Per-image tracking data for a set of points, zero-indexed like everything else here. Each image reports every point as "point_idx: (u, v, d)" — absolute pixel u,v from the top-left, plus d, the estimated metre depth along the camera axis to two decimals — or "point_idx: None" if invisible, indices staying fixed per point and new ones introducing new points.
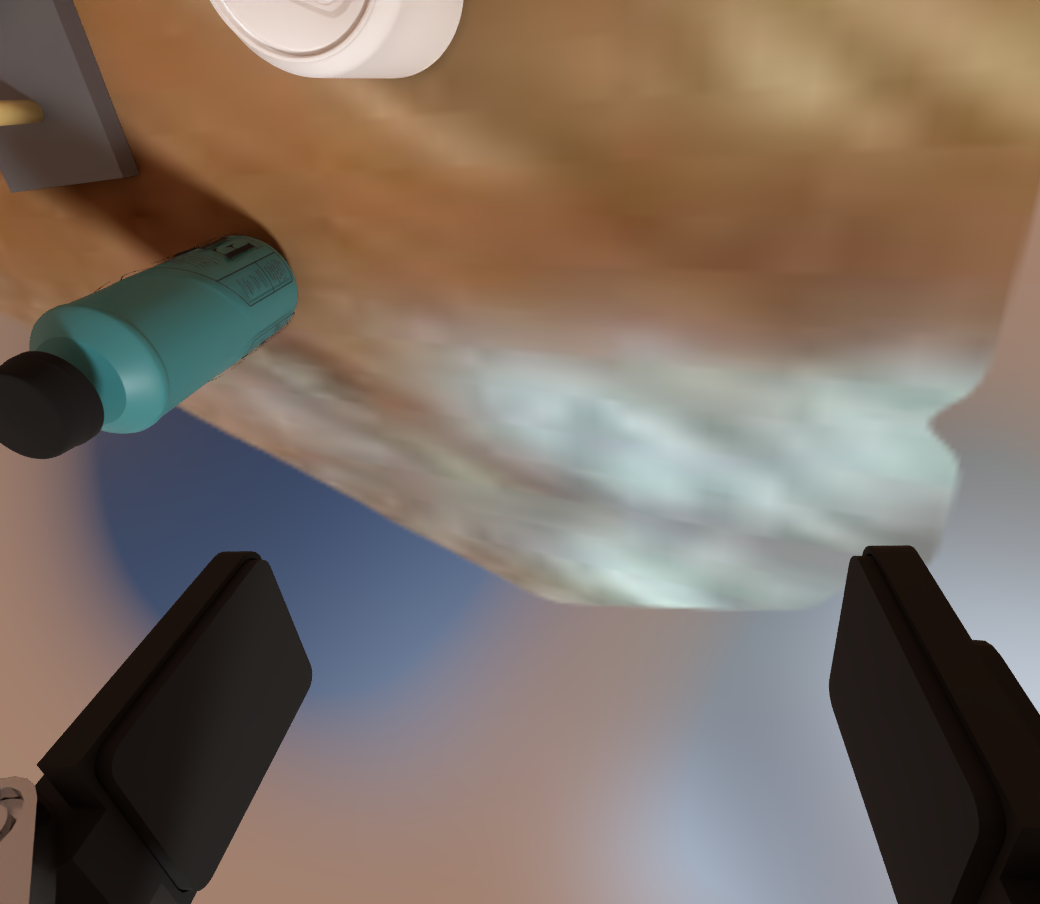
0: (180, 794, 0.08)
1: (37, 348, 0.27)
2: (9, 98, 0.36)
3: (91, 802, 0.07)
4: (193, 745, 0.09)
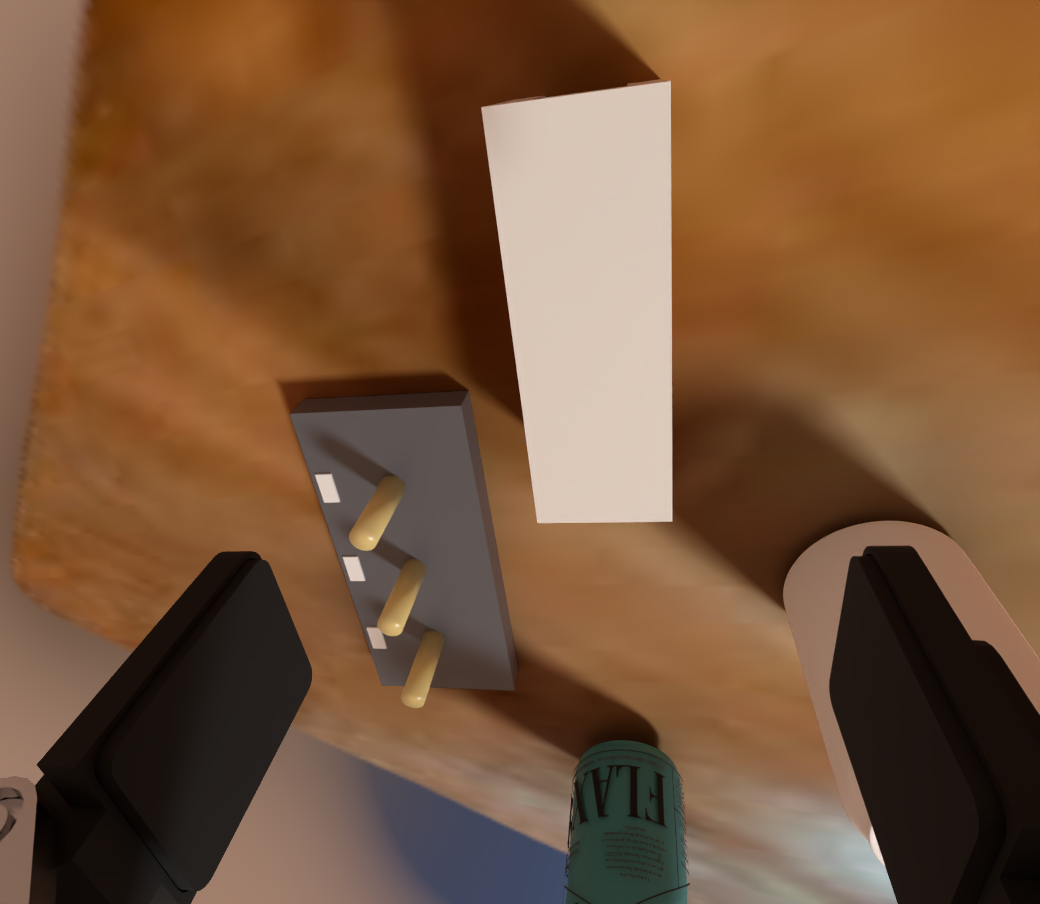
0: (180, 794, 0.08)
1: None
2: (410, 627, 0.34)
3: (91, 802, 0.07)
4: (193, 745, 0.09)
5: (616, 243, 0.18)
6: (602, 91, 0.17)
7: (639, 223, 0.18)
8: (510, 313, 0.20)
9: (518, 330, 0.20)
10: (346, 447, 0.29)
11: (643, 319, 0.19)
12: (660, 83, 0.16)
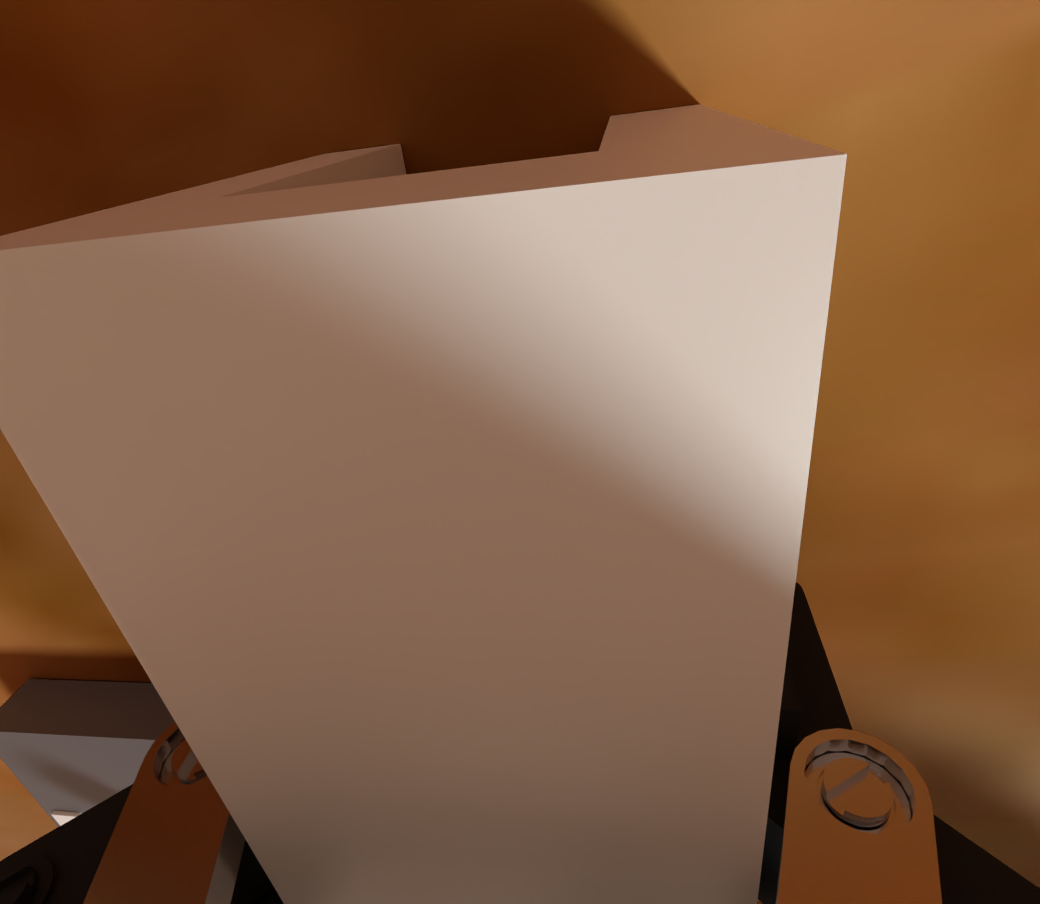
0: None
1: None
2: None
3: None
4: None
5: (563, 732, 0.05)
6: (452, 204, 0.03)
7: (651, 692, 0.05)
8: (247, 833, 0.06)
9: (280, 868, 0.07)
10: (94, 783, 0.15)
11: (661, 898, 0.06)
12: (782, 167, 0.03)
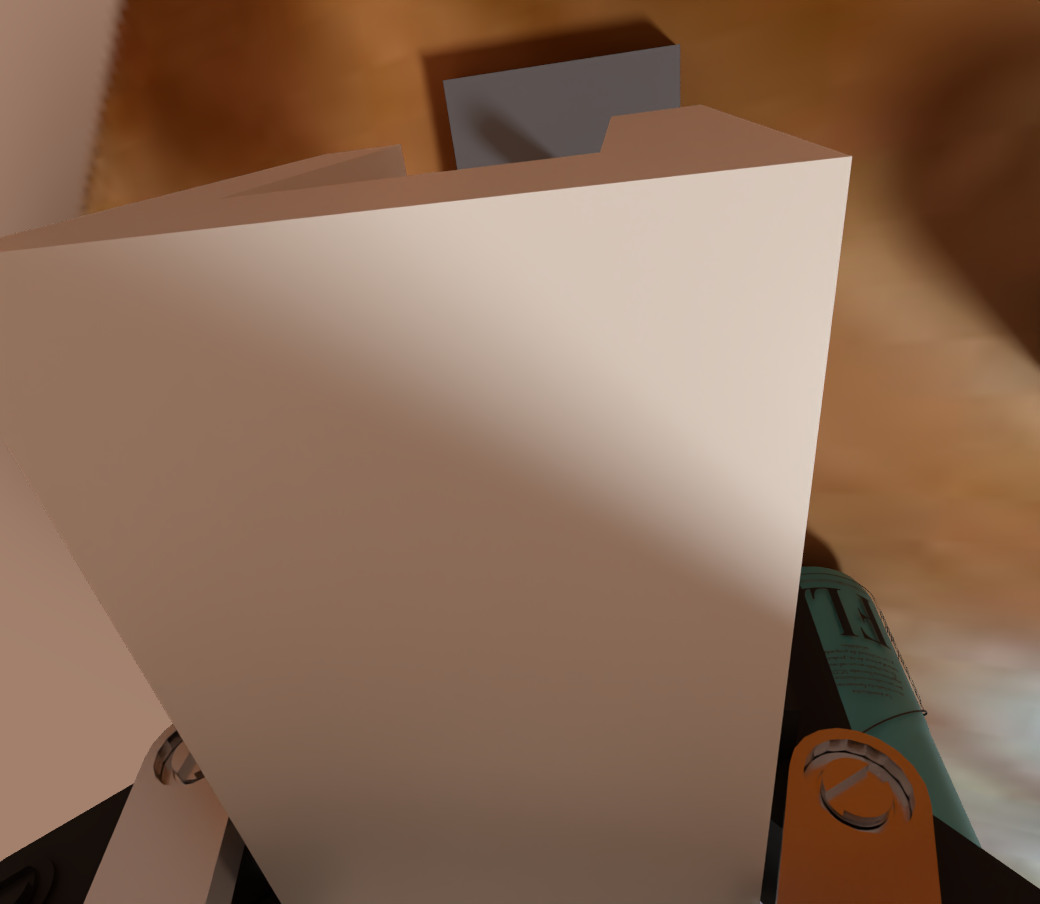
0: None
1: None
2: None
3: None
4: None
5: (565, 738, 0.05)
6: (454, 207, 0.03)
7: (653, 697, 0.04)
8: (246, 837, 0.06)
9: (280, 872, 0.07)
10: (513, 130, 0.22)
11: (663, 903, 0.06)
12: (787, 170, 0.03)
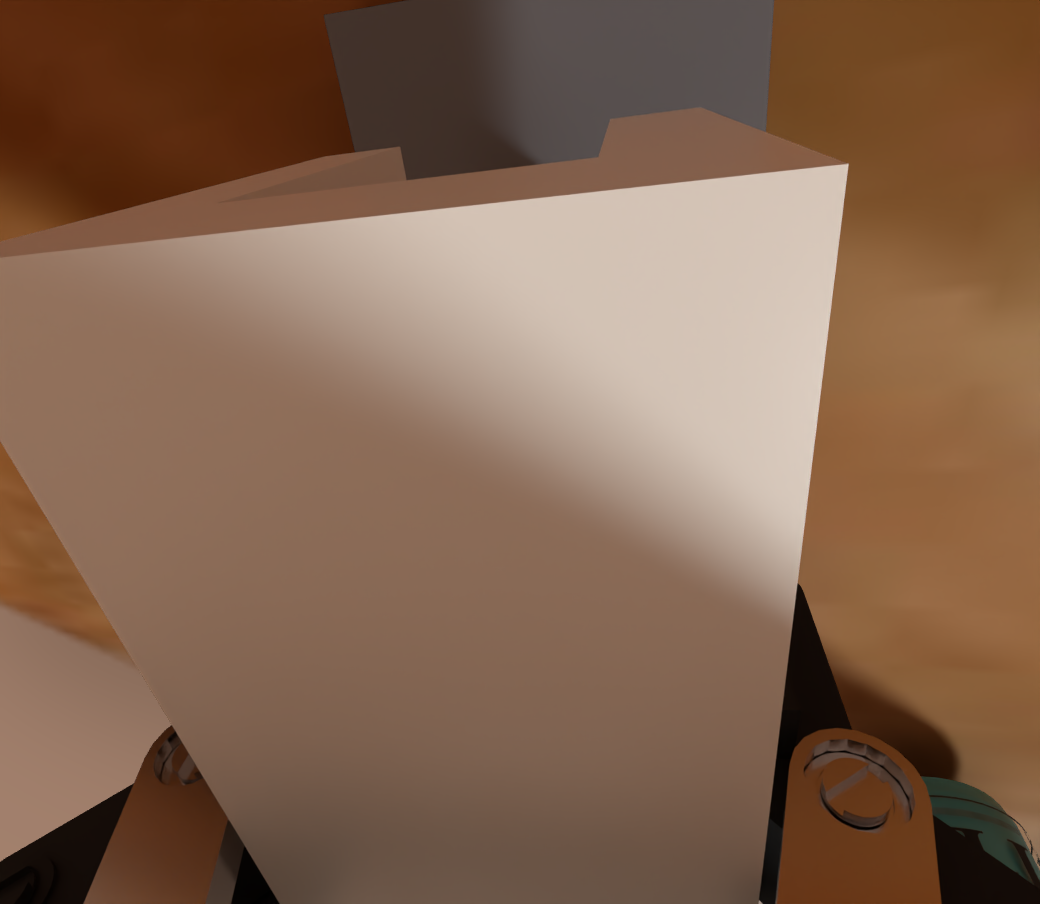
0: None
1: None
2: None
3: None
4: None
5: (562, 740, 0.05)
6: (452, 213, 0.03)
7: (651, 700, 0.05)
8: (246, 839, 0.06)
9: (279, 874, 0.07)
10: (456, 110, 0.12)
11: None
12: (784, 177, 0.03)
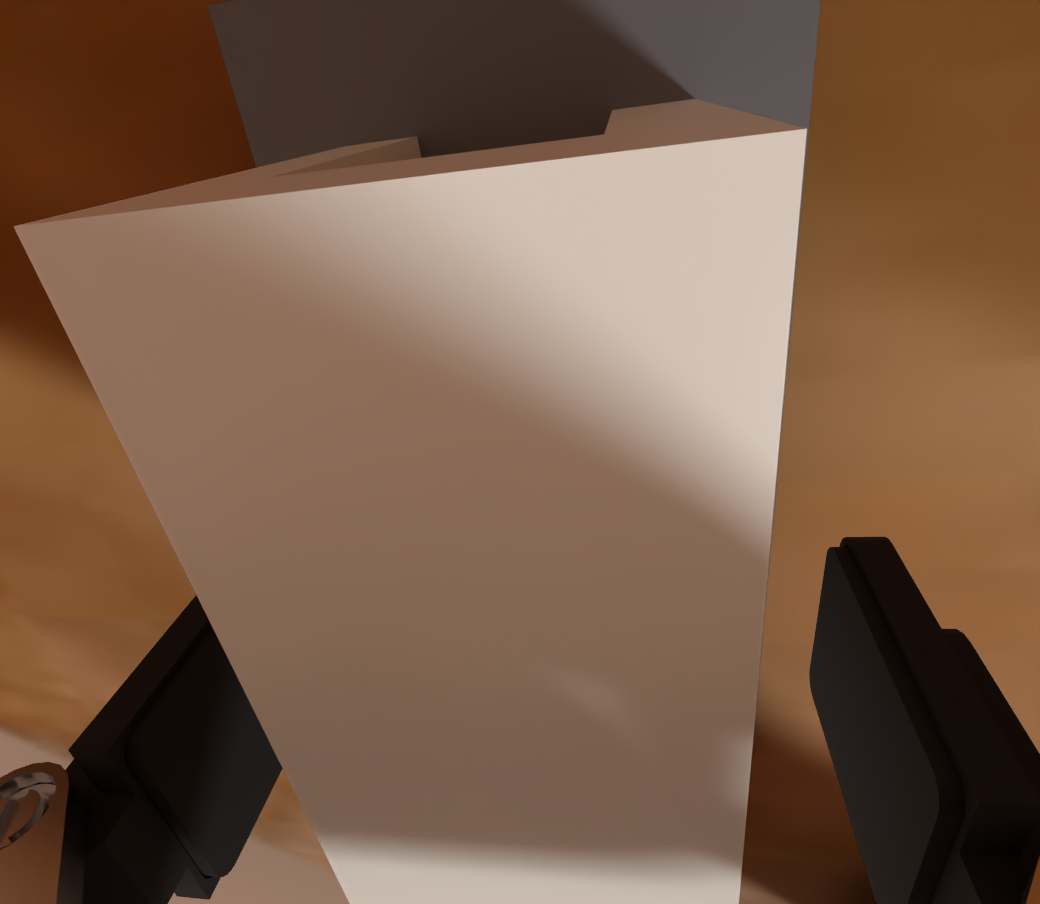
0: (205, 781, 0.08)
1: None
2: None
3: (120, 787, 0.07)
4: (217, 733, 0.09)
5: (573, 650, 0.06)
6: (486, 173, 0.04)
7: (650, 609, 0.05)
8: (283, 761, 0.07)
9: (312, 795, 0.07)
10: (391, 132, 0.09)
11: (660, 813, 0.07)
12: (756, 140, 0.03)
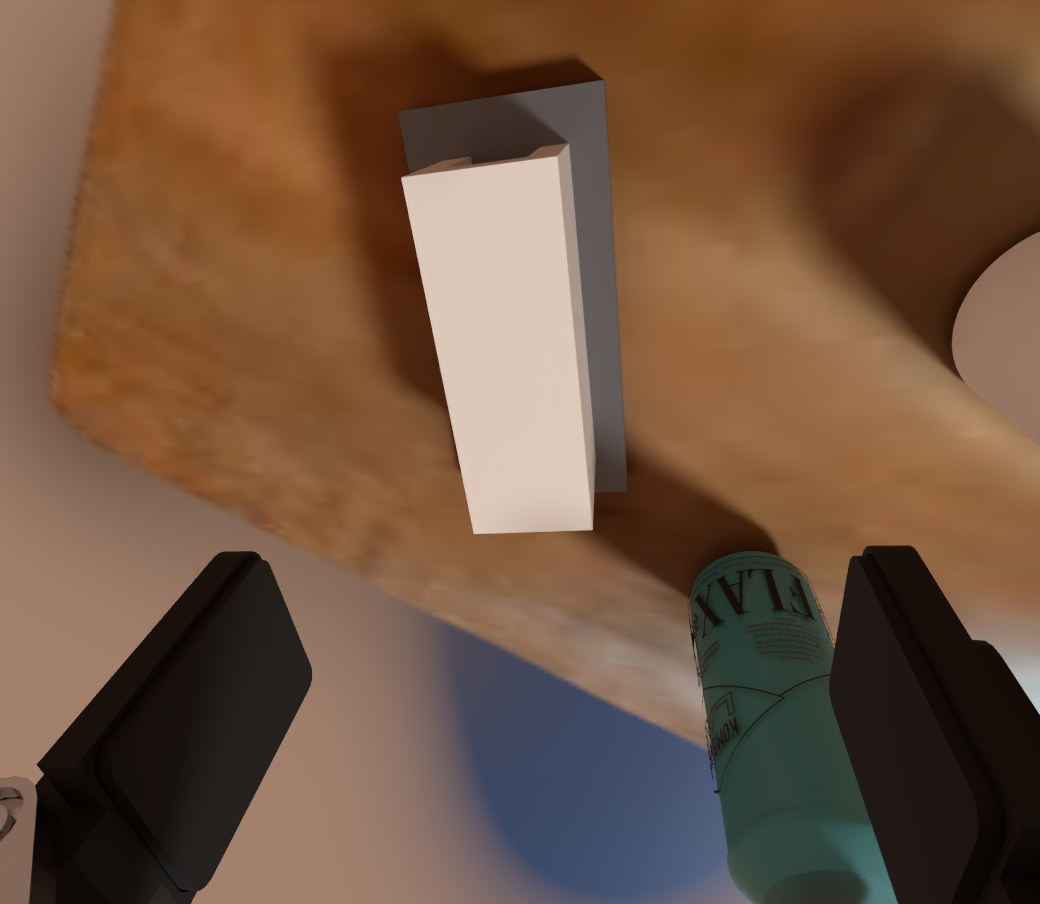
0: (180, 794, 0.08)
1: (794, 874, 0.21)
2: None
3: (91, 802, 0.07)
4: (193, 745, 0.09)
5: (523, 289, 0.21)
6: (501, 164, 0.20)
7: (541, 272, 0.21)
8: (437, 349, 0.23)
9: (445, 363, 0.23)
10: (461, 155, 0.25)
11: (551, 353, 0.22)
12: (549, 158, 0.19)
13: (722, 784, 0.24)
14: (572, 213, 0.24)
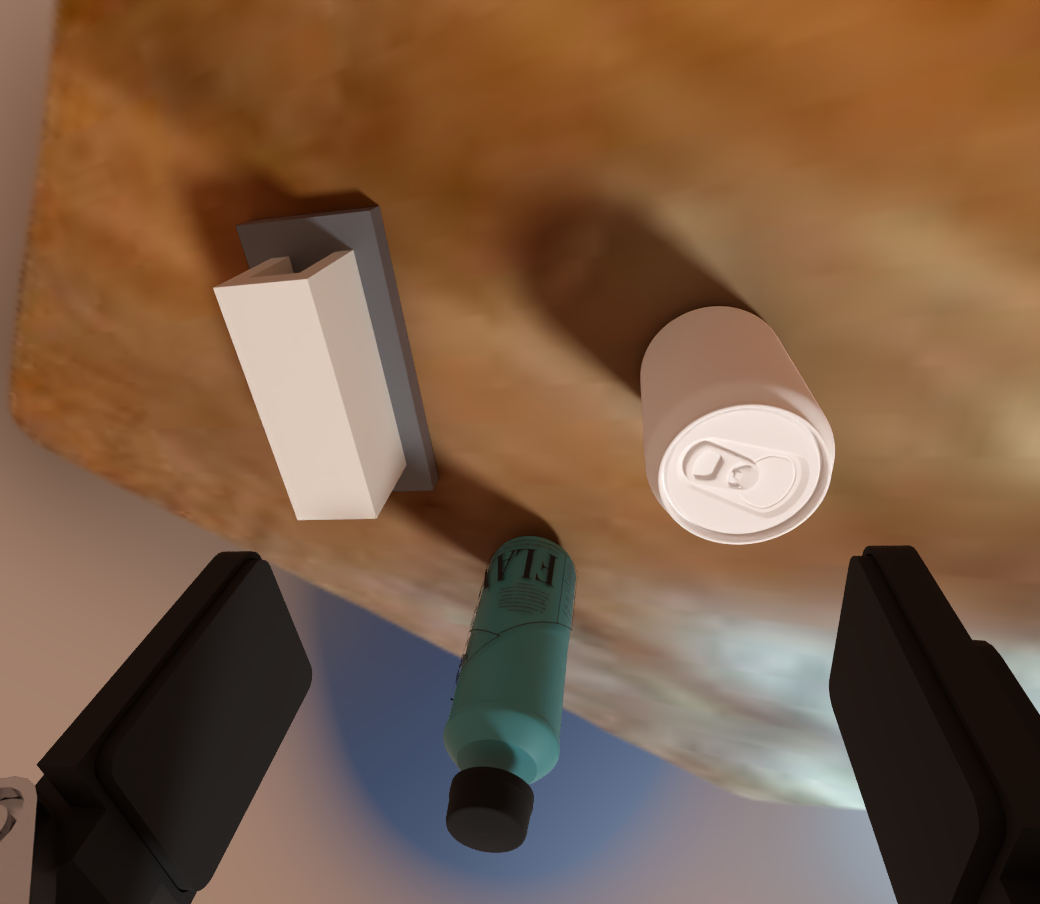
0: (180, 794, 0.08)
1: (468, 743, 0.32)
2: None
3: (91, 802, 0.07)
4: (193, 745, 0.09)
5: (301, 358, 0.32)
6: (273, 282, 0.30)
7: (310, 348, 0.32)
8: (252, 394, 0.34)
9: (259, 404, 0.34)
10: (282, 255, 0.36)
11: (326, 399, 0.33)
12: (302, 280, 0.30)
13: None
14: (354, 299, 0.35)
